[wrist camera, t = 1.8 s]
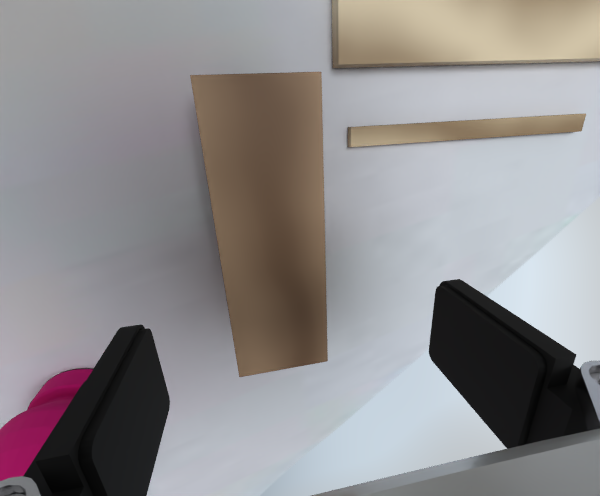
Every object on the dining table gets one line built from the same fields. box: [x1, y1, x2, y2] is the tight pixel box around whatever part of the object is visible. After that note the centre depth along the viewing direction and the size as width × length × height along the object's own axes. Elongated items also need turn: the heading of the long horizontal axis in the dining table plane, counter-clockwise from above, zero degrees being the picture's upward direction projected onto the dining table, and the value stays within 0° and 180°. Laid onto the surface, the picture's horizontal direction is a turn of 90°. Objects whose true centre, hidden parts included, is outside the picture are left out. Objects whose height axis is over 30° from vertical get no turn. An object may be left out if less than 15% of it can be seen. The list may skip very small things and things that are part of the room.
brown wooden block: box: [190, 72, 328, 377], centre depth 19 cm, size 6×16×6 cm, turn 3°
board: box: [332, 0, 600, 147], centre depth 19 cm, size 15×20×1 cm
